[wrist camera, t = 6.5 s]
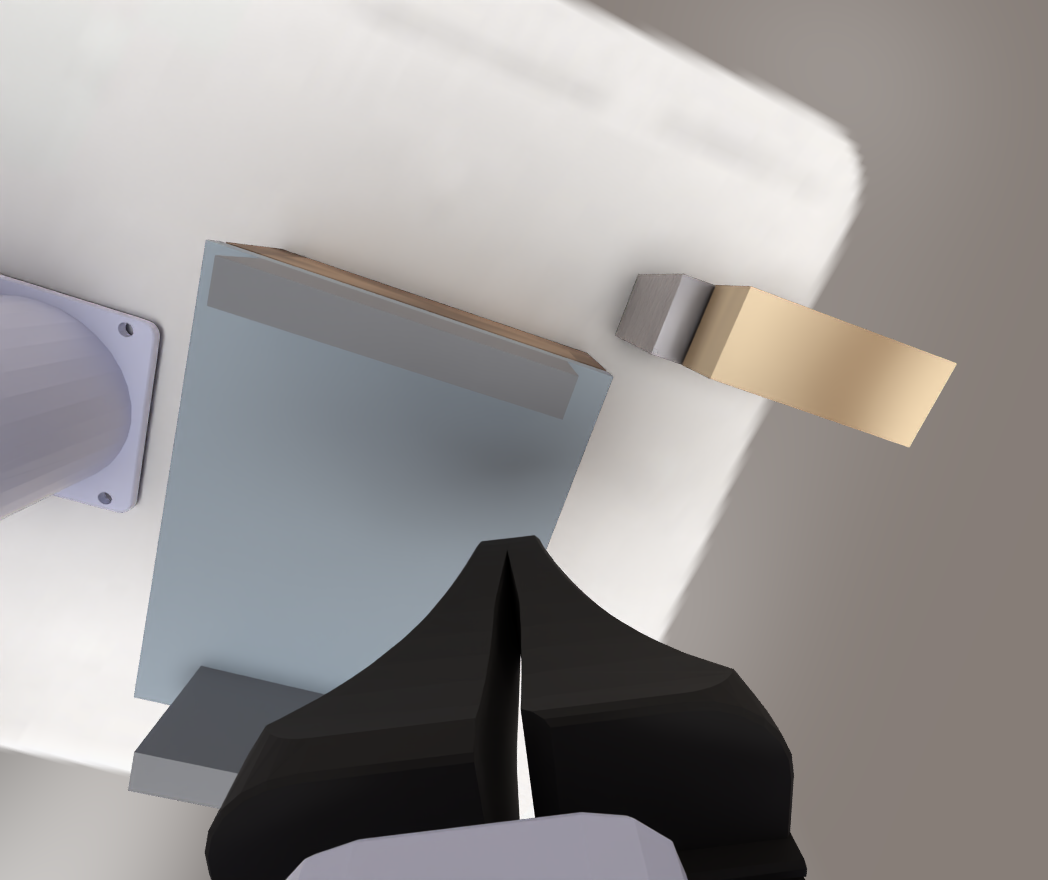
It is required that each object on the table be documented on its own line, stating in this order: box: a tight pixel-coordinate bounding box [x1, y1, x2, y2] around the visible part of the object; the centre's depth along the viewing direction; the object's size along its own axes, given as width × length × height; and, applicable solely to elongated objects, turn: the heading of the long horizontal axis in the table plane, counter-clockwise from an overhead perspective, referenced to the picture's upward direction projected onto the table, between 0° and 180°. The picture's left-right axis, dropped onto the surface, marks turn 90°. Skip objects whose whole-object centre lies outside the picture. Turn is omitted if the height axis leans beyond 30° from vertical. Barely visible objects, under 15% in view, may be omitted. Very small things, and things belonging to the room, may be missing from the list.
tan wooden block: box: [682, 285, 956, 447], centre depth 15 cm, size 6×2×2 cm, turn 71°
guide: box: [616, 274, 715, 364], centre depth 18 cm, size 2×2×5 cm
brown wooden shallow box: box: [226, 242, 606, 371], centre depth 20 cm, size 12×16×4 cm
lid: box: [128, 240, 613, 809], centre depth 16 cm, size 12×16×4 cm
